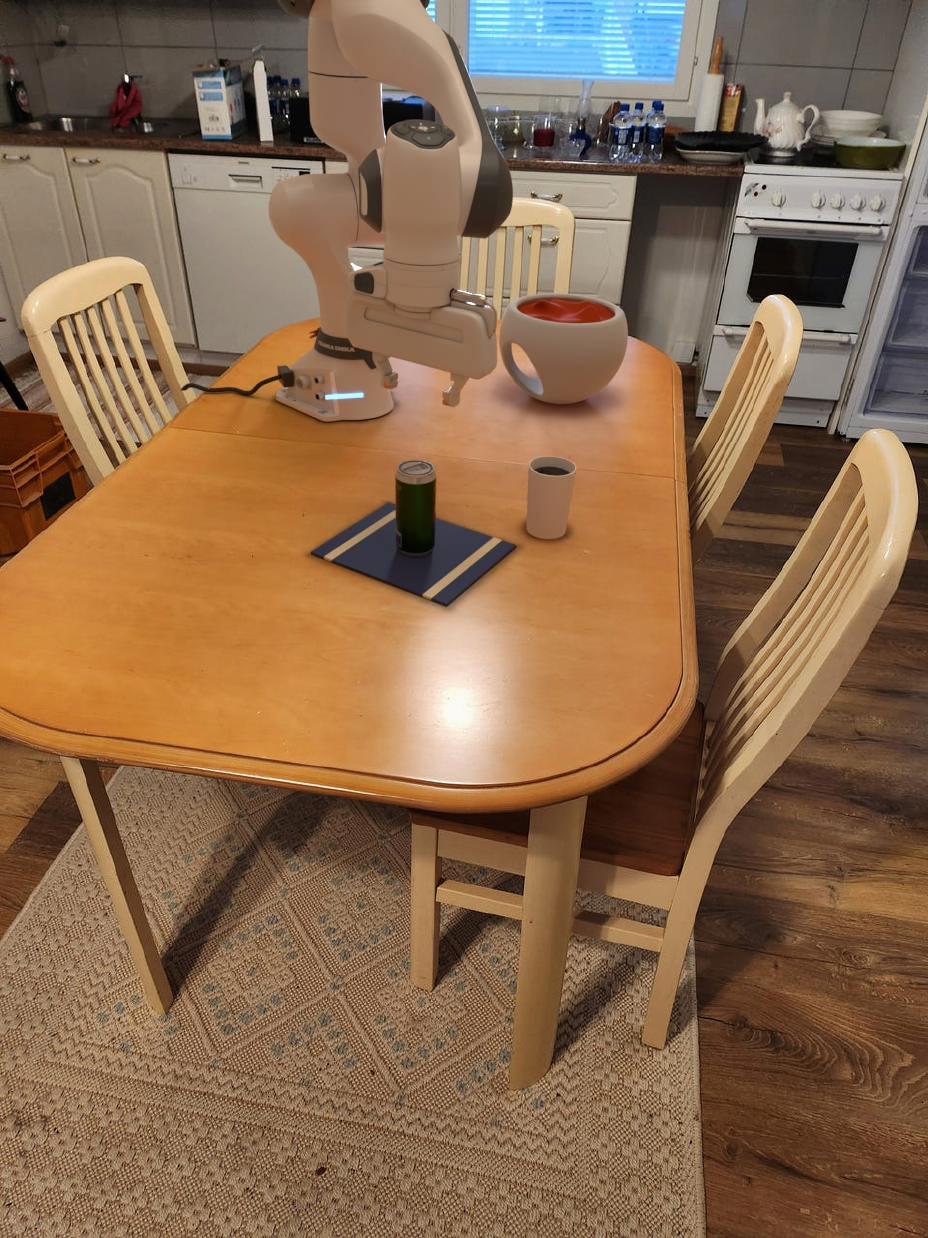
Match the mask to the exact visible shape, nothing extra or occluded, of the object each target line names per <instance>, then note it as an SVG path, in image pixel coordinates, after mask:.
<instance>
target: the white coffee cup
mask: <svg viewBox="0 0 928 1238" xmlns="http://www.w3.org/2000/svg"><path fill="white" fill-rule="evenodd" d="M527 473H528V475H527V476H528V477H527V501H526V524H525V525H526V526H525V527H526V529H525V531H526V532H527V533H528V534H529V535H531V536H532V537H535V538H538V539H542V540H554V539H555V540H557V539H559V538H562V537H563V536H564V535H565V534H566V533H567V527H568V520H569V516H570V515H569V514H570V508H571V502H572V497H573V496H572V495H573V492H574V485H575V478H576V473H577V465H576V464H575V463H574V461H572V460H570V459H567V458H566V457H565V458H564V457H561V456H554V455H543V456H537V457H534V458H532V459H531V460H530V461H529V462H528V472H527Z"/></svg>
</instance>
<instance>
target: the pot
mask: <svg viewBox="0 0 928 1238" xmlns="http://www.w3.org/2000/svg"><path fill="white" fill-rule="evenodd" d="M628 331H629V329H628V322H627V317H626V314H625V312H624V310H623V309H622V308H621V307H620V306H618V305H616V304H615V303H613V302H611V301H608V300H606V299H605V300H604V299H602V298H597V297H593V296H588V295H583V294H575V293H561V292H556V293H555V292H548V293H547V292H546V293H534V294H528V295H523V296H520V297H517V298H515V299H513V300H512V301H510V302H509V303H508V305H507V306H506V309H505V311H504V313H503V316H502V319H501V322H500V327H499V338H498V339H499V341H498V342H499V343H498V344H499V350H500V356H501V360H502V362H503V366H504V368H505V370H506V372H507V373H508V375H509V376H510V378H511V379H512V380H513V382H514V383H515V384H516V385H517V386H518V387H519V388H520V389H521V390H522V391H523V392H524V393H526V394H527V395H529V396H530V397H532V398H534V399H536V400H538V401H540V402H544V403H548V404H554V405H570V404H575V403H579V402H582V401H584V400H587V399H589V398H591V397H593V396H595V395H596V394H598V393H599V392H601V391H602V390H603V389H604V388H606V387H607V385H609V384H610V382H611V381H612V380H613V379H614V378H615V376H616V375H617V373H618V372H619V370H620V368H621V366H622V364H623V361H624V359H625V356H626V352H627V348H628V342H629V341H628V340H629V332H628ZM512 344H515V345H518V346H519V347H520V349H522V351H523V352H524V353H525V355H526V357H527V358H528V359H529V361H530V362H531V364H532V366H533V368H534V370H535V371H536V373H537V374H536V375H538V377H531V376H529V375H527V374H525V373H524V372H523V371H522V370H521V369H520V368H519V367H518V365H517V363H516V361H515V360H514V356H513V348H512V347H513V345H512Z"/></svg>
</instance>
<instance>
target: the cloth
mask: <svg viewBox="0 0 928 1238" xmlns="http://www.w3.org/2000/svg"><path fill="white" fill-rule="evenodd" d="M517 546H518V545H517V544H515V543H512V542H509V541H506V540H504V539H501V538H498V537H495V536H491V535H488V534H486V533H482V532H480V531H476V530H473V529H470V528H467V527H464V526H461V525H459V524H456V523H452V522H450V521H447V520H444V519H440V518H437V517H436V522H435V546H434V548H433V550H432V552H430V553H429V554H427V555H425V556H421V557H411V556H406V555H404V554H402V553H400V551H399V550H398V548H397V546H396V504H395V503H393V502H390V501H388V502H386V503H385V504H383V505H382V506H380V507H379V508H377V509H375V510H374V511H372V512H371V513H369V514H368V515H366V516H364V517H363V518H361V519H360V520H358V521H357V522H355V523H353V524H352V525H350V526H348V527H347V528H346V529H343V530H342V531H340V532H339V533H338V534H336V535H335V536H333V537H331V538H329V539H328V540H327V541H325V542H324V543H322V544H320V545H319V546H318V547H316V548H314V549H313V550H310V555H311V556H314V557H317V558H320V559H322V560H325V561H327V562H330V563H332V564H335V565H336V566H337V565H338V566H340V567H343V568H345V569H348V570H350V571H353V572H355V573H358V574H361V575H363V576H366V577H369V578H372V579H374V580H377V581H379V582H381V583H384V584H387V585H389V586H392V587H395V588H397V589H400V590H402V591H405V592H407V593H410V594H413V595H416V596H417V597H420V598H423V599H426V600H429V601H431V602H433V603H437V604H438V605H441V606H444V607H445V608H446V607H448V606H450V605H451V604H452V603H453V602H454V601H455V600H457V599H458V598H459V597H460V596H461V595H462V594H463V593H465V592H466V591H467V590H468V589H469V588H470V587H472V586H473V585H474V584H475V583H476V582H478V581H479V580H480V579H481V578H483V576H484V575H486V574H488V572H489V571H490V570H491V569H493V568H494V567H495V566H496V565H498V564H499V563H500V562H501V561H502V560H504V559H505V557H507V556H509V554H511V553H512V552H513V551H514V550H515V549H517Z"/></svg>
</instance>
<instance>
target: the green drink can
mask: <svg viewBox="0 0 928 1238" xmlns="http://www.w3.org/2000/svg"><path fill="white" fill-rule="evenodd" d="M394 488H395V489H394V492H395V494H394V496H395V498H394V501H395V502H394V504H396V546H397V548H398V550H399V551H400V553H402V554H404V555H406V556H411V557H421V556H425V555H427V554H429V553H430V552H432V550H433V548H434V546H435V522H436V518H437V516H436V514H437V473H436V468H435V465H434V464H433V463H431V462H429V461H426V460H422V459H408V460H405V461H402V462H400V463H398V464H397V466H396V471H395V475H394Z"/></svg>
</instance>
